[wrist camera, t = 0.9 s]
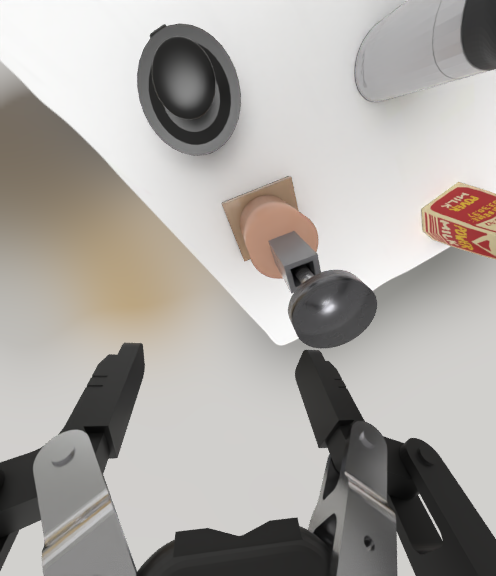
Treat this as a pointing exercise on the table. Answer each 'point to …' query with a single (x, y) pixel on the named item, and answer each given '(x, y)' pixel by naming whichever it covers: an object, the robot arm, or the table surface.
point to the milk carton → (463, 219)
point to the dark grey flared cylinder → (188, 89)
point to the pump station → (274, 231)
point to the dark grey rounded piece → (330, 307)
